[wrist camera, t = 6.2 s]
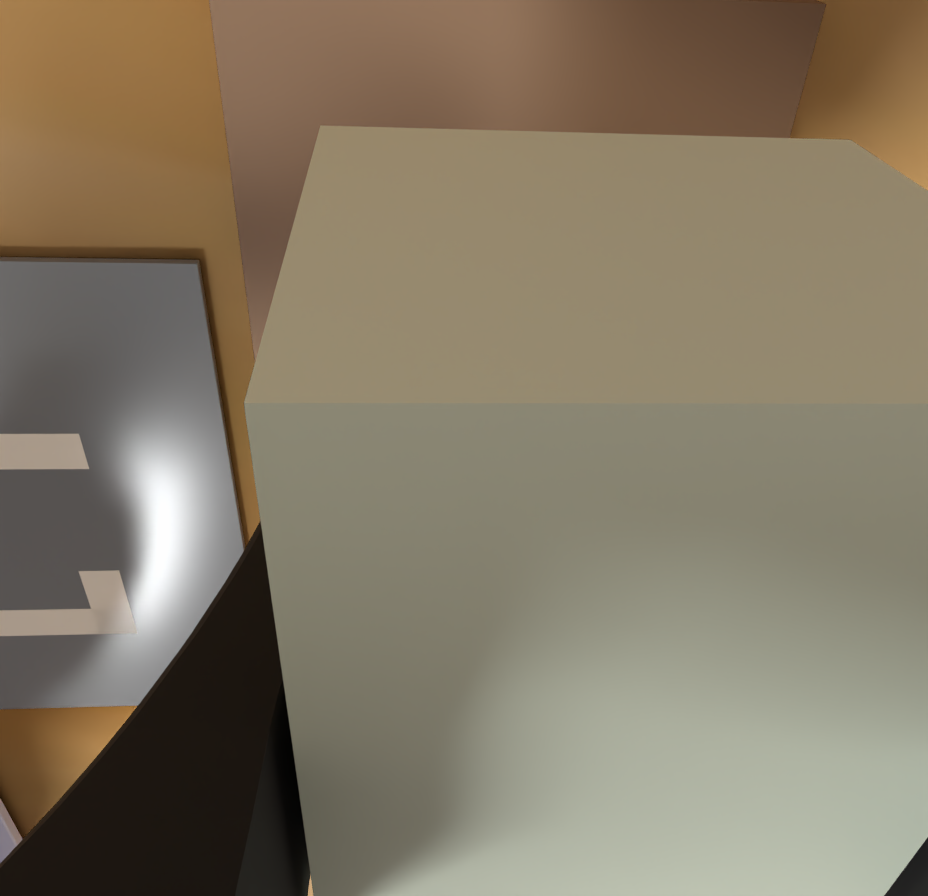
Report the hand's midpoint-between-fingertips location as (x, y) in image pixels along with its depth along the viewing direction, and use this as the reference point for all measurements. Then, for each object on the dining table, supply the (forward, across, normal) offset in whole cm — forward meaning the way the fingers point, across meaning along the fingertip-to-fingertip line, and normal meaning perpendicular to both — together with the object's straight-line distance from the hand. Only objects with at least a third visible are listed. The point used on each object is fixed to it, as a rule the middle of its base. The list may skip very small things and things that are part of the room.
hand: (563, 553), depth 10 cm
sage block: (+1, 0, 0) cm, 1 cm away
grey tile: (+8, +11, +7) cm, 16 cm away
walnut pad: (+8, 0, 0) cm, 8 cm away
